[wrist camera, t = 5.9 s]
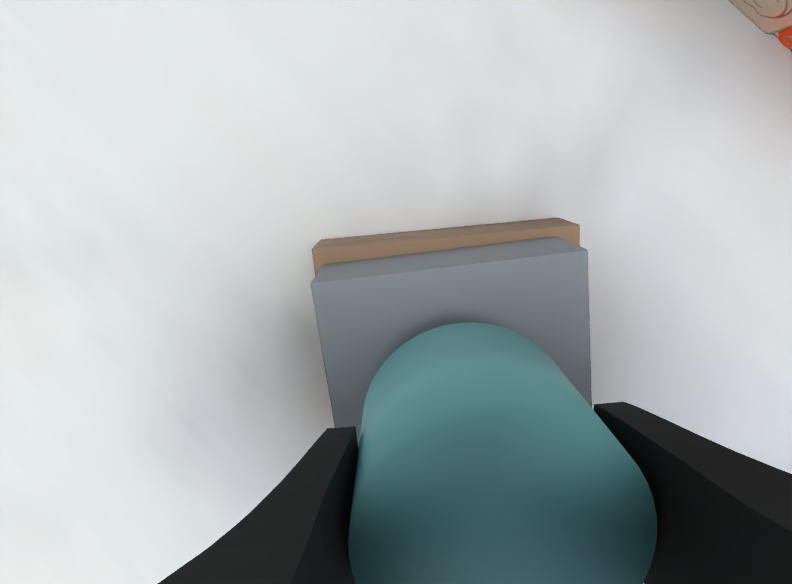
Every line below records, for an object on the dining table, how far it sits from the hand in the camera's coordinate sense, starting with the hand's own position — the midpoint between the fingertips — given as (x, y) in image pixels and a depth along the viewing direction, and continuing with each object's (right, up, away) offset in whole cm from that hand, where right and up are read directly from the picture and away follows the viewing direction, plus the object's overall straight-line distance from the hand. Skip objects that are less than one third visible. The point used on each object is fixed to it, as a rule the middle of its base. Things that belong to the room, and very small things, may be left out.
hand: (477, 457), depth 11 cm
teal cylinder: (0, 0, +1) cm, 1 cm away
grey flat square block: (0, +1, +5) cm, 6 cm away
